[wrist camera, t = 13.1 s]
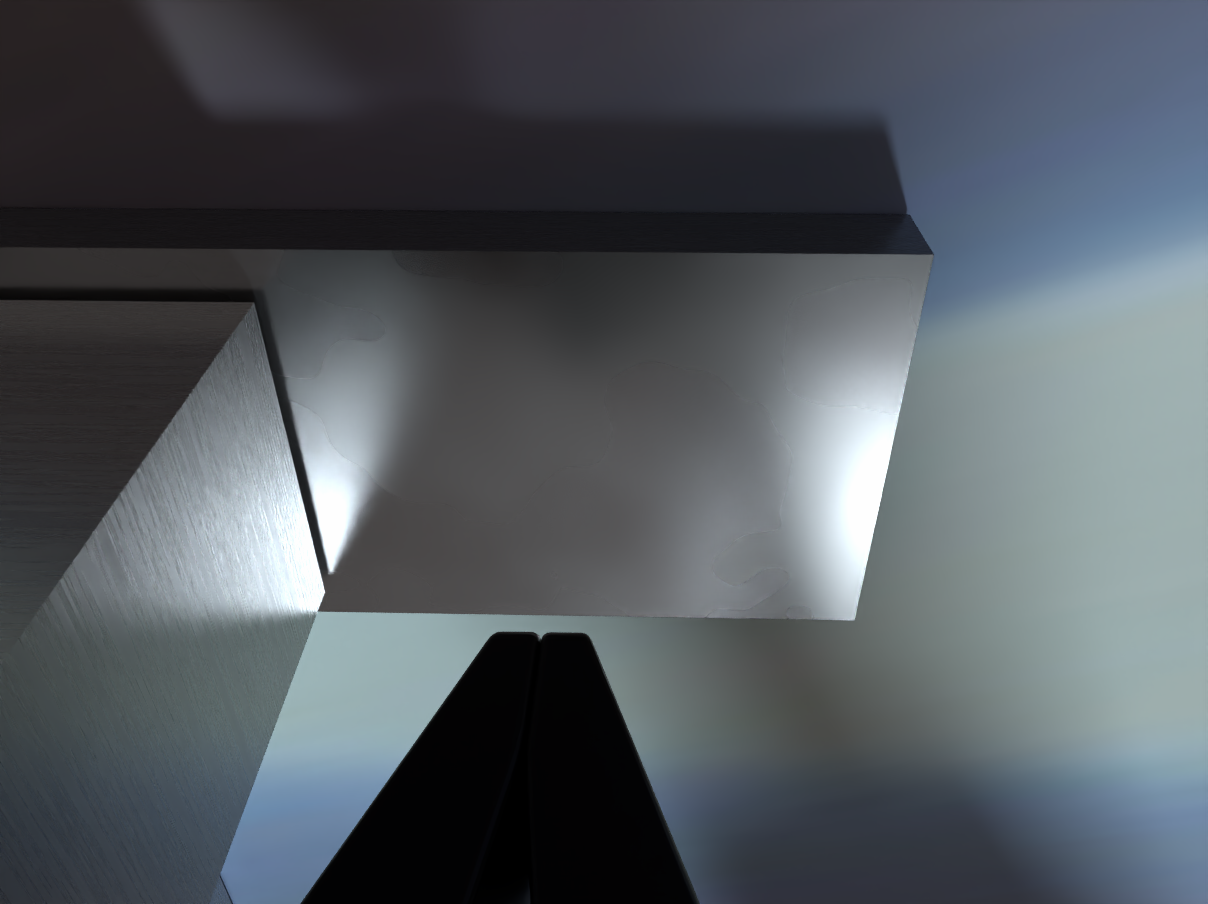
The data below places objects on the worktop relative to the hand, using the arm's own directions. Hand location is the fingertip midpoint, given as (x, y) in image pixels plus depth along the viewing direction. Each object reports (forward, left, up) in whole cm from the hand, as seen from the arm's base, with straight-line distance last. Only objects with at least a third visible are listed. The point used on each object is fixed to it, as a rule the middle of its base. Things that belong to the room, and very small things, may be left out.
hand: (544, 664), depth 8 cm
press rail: (0, +2, -4) cm, 5 cm away
